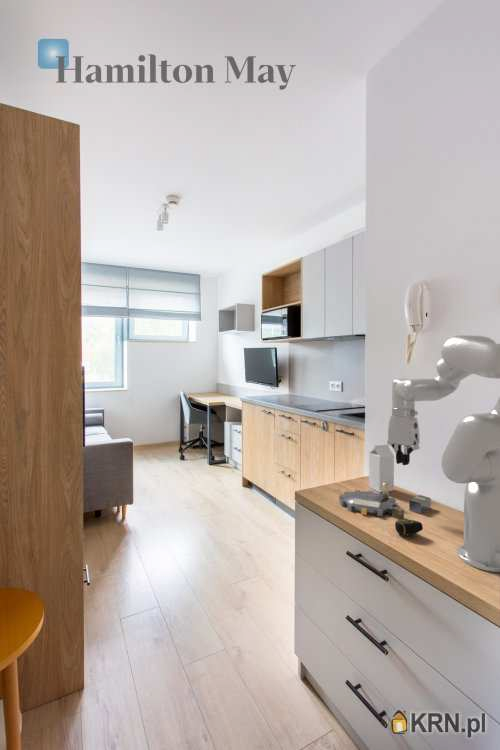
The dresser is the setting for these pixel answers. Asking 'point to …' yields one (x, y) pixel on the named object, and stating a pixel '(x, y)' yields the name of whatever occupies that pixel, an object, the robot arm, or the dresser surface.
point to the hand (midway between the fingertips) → (402, 463)
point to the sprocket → (369, 501)
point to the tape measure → (408, 526)
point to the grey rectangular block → (420, 504)
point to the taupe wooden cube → (397, 512)
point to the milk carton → (381, 468)
